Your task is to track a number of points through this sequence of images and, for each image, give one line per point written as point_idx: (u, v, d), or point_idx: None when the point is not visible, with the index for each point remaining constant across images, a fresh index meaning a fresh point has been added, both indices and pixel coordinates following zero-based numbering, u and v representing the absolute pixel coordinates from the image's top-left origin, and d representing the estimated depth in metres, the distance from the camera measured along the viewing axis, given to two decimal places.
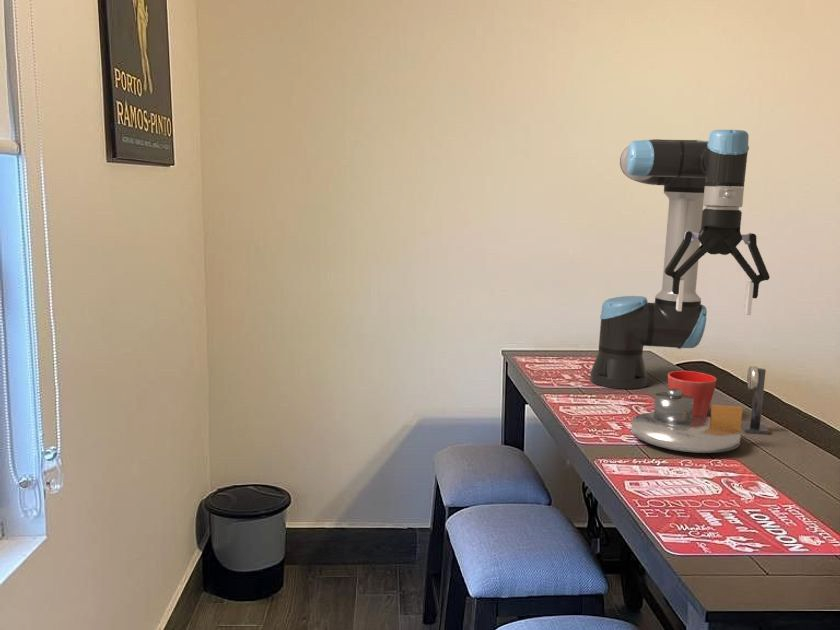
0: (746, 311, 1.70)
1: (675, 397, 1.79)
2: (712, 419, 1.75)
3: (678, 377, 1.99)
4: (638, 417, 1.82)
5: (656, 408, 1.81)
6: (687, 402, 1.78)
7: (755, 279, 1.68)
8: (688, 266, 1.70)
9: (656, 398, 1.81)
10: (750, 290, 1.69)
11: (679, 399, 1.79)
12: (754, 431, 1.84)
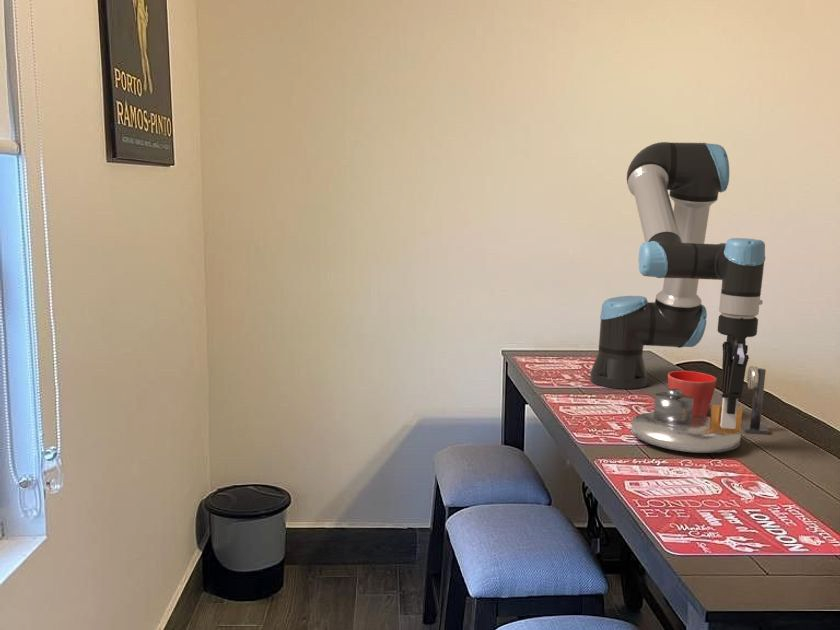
0: None
1: (675, 397, 1.79)
2: (712, 419, 1.75)
3: (678, 377, 1.99)
4: (638, 417, 1.82)
5: (656, 408, 1.81)
6: (687, 402, 1.78)
7: None
8: None
9: (656, 398, 1.81)
10: None
11: (679, 399, 1.79)
12: (754, 431, 1.84)
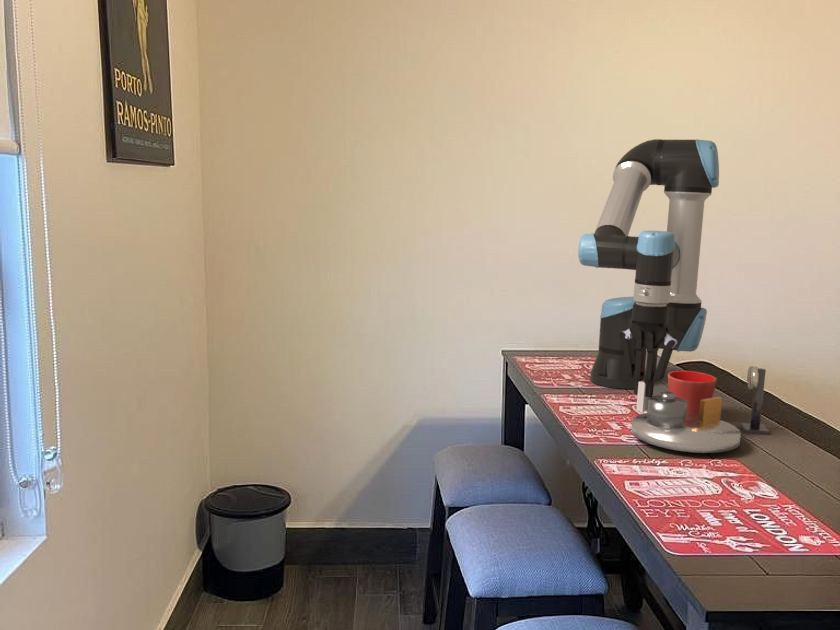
0: None
1: (673, 400, 1.77)
2: (704, 414, 1.79)
3: (678, 377, 1.99)
4: (639, 427, 1.75)
5: (660, 415, 1.75)
6: None
7: (647, 379, 1.79)
8: (638, 365, 1.80)
9: (659, 405, 1.75)
10: (642, 389, 1.80)
11: (677, 401, 1.77)
12: (754, 431, 1.84)
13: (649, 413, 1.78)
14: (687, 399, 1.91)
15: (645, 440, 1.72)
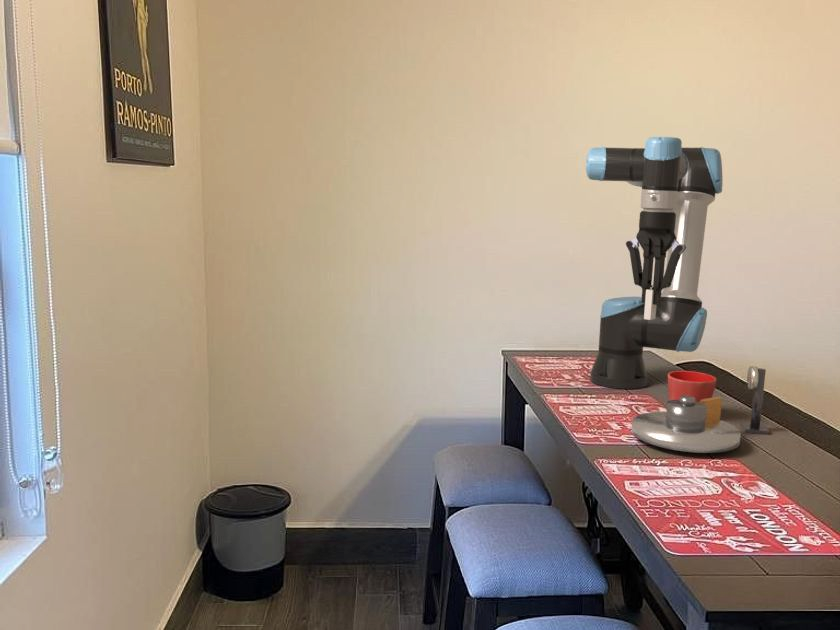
0: None
1: (693, 405, 1.74)
2: None
3: (678, 377, 1.99)
4: (640, 427, 1.75)
5: (679, 420, 1.72)
6: (706, 407, 1.74)
7: (654, 286, 1.80)
8: (645, 273, 1.81)
9: (678, 409, 1.72)
10: (649, 296, 1.81)
11: (697, 406, 1.74)
12: (754, 431, 1.84)
13: (668, 417, 1.75)
14: None
15: (645, 440, 1.72)
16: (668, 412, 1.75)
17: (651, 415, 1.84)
